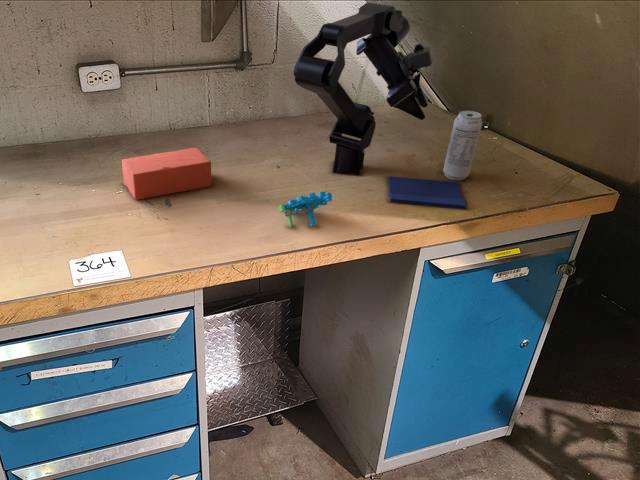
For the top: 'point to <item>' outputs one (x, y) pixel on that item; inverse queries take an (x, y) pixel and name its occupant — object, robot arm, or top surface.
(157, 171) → the brick
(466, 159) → the energy drink can
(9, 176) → the top surface
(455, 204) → the book
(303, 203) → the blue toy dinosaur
